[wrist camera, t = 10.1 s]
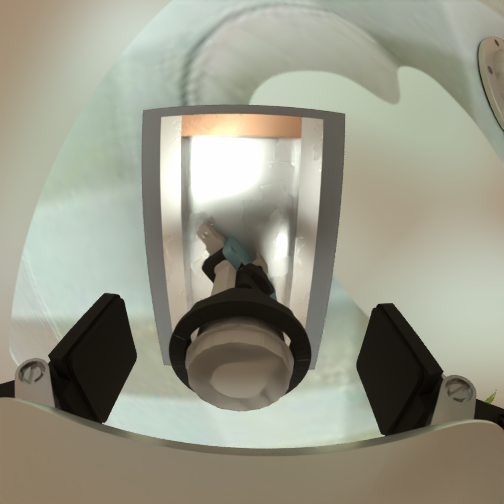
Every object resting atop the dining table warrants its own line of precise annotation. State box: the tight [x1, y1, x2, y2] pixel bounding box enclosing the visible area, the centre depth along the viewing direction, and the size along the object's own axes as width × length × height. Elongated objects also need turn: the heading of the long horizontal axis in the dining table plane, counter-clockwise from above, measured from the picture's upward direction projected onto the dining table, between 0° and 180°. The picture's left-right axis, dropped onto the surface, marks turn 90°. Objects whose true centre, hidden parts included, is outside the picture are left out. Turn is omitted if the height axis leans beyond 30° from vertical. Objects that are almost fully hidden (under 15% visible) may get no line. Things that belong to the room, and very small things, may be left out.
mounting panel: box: [142, 105, 345, 370], centre depth 19 cm, size 13×20×1 cm, turn 178°
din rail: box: [160, 114, 323, 347], centre depth 17 cm, size 9×18×2 cm, turn 178°
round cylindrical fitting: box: [169, 222, 312, 411], centre depth 13 cm, size 7×5×10 cm
